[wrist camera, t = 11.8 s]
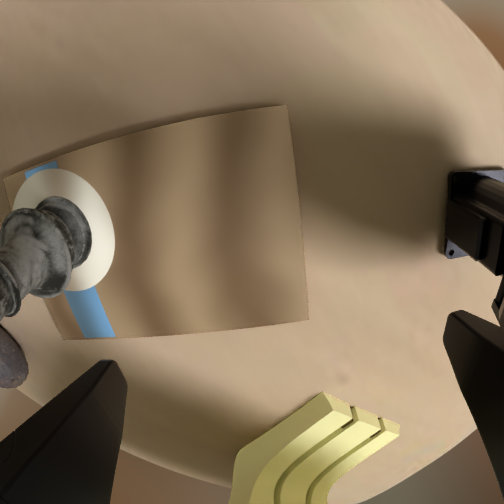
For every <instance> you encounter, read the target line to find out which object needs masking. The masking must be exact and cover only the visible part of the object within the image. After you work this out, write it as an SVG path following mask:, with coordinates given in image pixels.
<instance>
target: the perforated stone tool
mask: <svg viewBox="0 0 504 504" xmlns="http://www.w3.org/2000/svg"><path fill="white" fill-rule="evenodd" d="M27 375H28V363H27V361H26V358H25V356H24V354H23V352H22V351H21V350H20V348H19V347H18V345H17V344H16V343H15V341H14V340H13V339H12V338H11V337H10V336H9V335H8V334H7V333H6V332H5V331H4V330H3V329H2V328H0V387H3V388H17V386H20V385H21V384H22V383H23V381H25V380H26V378H27Z"/></svg>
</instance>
